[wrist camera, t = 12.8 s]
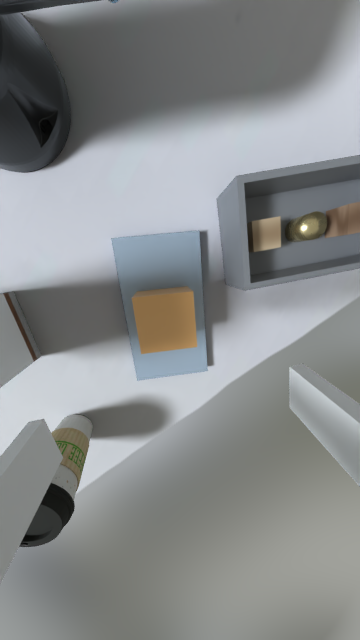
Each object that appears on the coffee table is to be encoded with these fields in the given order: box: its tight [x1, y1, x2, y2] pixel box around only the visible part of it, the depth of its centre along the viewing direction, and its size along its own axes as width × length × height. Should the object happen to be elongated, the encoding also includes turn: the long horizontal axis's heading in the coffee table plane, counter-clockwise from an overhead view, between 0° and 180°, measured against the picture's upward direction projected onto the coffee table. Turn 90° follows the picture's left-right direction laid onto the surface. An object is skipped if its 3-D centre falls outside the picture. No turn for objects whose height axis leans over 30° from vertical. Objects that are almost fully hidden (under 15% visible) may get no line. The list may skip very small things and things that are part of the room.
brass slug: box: [285, 211, 327, 242], centre depth 29 cm, size 4×4×4 cm
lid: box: [111, 231, 208, 381], centre depth 30 cm, size 13×24×8 cm, turn 5°
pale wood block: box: [247, 216, 281, 253], centre depth 28 cm, size 4×4×4 cm
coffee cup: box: [19, 414, 93, 547], centre depth 31 cm, size 10×10×15 cm
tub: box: [217, 155, 360, 291], centre depth 28 cm, size 13×24×8 cm, turn 100°
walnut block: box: [325, 202, 360, 238], centre depth 29 cm, size 4×4×4 cm
